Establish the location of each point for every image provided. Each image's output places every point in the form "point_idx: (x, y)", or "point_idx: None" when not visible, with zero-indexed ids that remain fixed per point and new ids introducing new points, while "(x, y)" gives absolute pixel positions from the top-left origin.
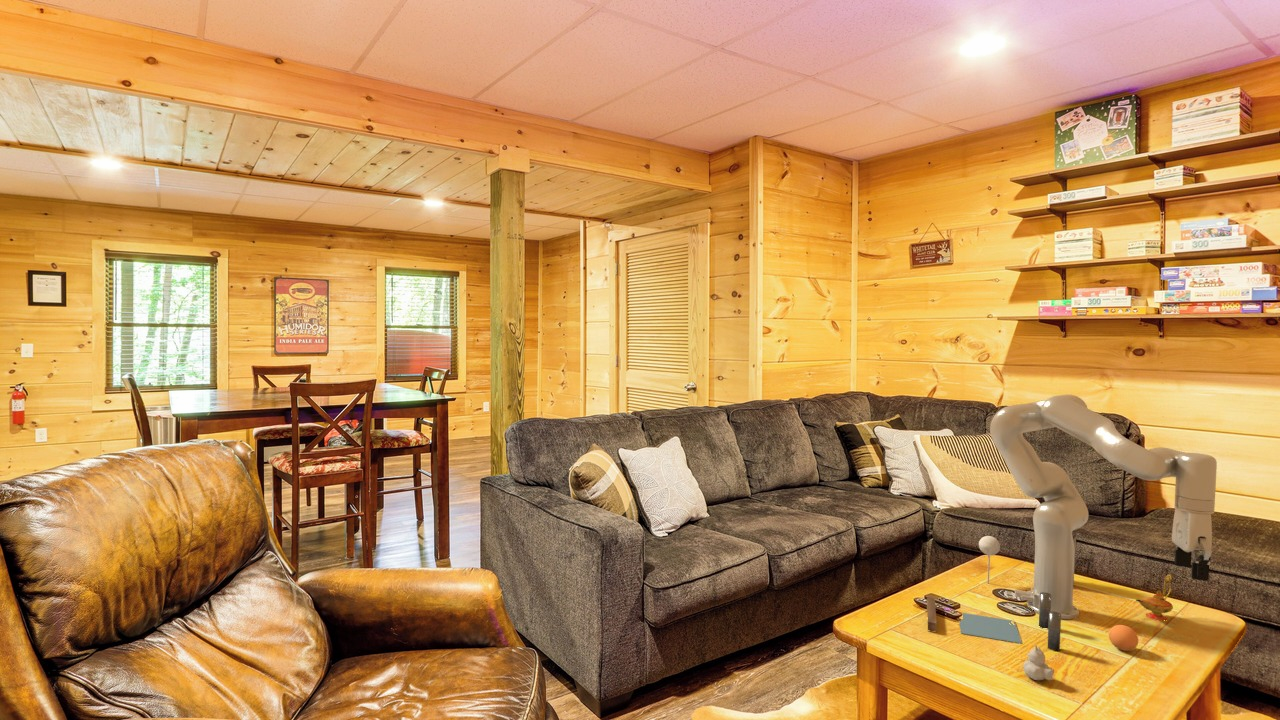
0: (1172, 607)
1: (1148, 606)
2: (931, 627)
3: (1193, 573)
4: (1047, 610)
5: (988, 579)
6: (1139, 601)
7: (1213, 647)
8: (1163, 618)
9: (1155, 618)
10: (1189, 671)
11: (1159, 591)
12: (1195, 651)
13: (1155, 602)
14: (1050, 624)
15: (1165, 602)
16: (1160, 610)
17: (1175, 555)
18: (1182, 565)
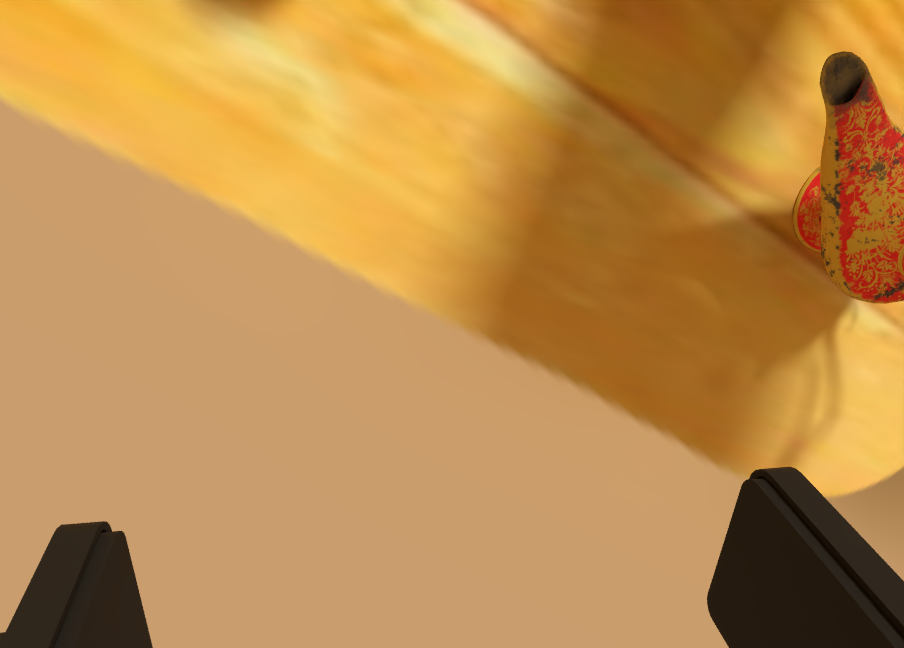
0: (848, 294)
1: (823, 144)
2: None
3: (23, 615)
4: None
5: None
6: (825, 72)
7: (509, 341)
8: (814, 228)
9: (816, 188)
10: (100, 107)
11: None
12: (426, 242)
13: (890, 216)
14: None
15: (888, 273)
16: (821, 218)
17: (887, 589)
18: (729, 539)
